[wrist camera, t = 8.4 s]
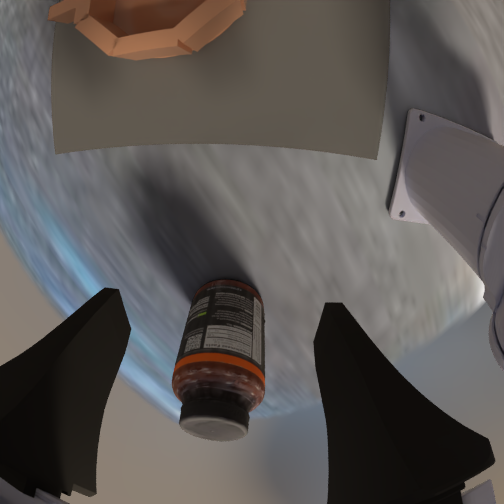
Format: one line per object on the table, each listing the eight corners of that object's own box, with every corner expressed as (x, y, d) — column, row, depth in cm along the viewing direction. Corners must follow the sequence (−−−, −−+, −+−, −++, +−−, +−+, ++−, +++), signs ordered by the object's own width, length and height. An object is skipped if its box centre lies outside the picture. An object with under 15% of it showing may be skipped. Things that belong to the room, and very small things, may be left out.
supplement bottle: (243, 336, 25) (235, 451, 15) (183, 311, 24) (151, 429, 14) (278, 294, 22) (285, 427, 13) (211, 263, 21) (177, 399, 11)
